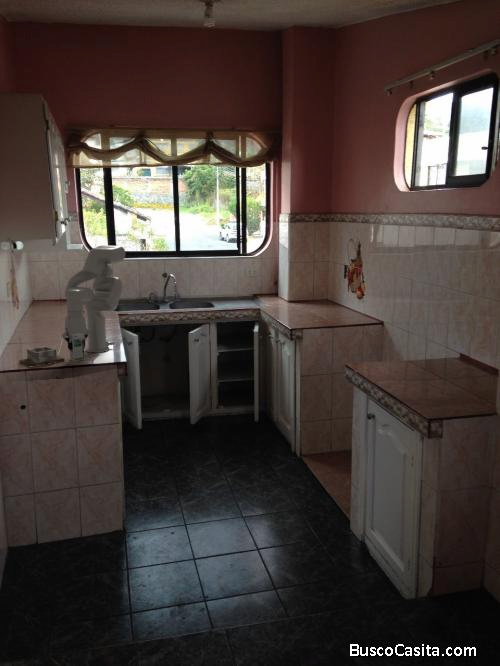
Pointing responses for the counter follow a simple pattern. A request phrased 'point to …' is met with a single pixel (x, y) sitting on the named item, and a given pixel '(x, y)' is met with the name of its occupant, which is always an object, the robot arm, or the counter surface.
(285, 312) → the counter surface
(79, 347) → the syrup box
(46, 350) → the collar stand
